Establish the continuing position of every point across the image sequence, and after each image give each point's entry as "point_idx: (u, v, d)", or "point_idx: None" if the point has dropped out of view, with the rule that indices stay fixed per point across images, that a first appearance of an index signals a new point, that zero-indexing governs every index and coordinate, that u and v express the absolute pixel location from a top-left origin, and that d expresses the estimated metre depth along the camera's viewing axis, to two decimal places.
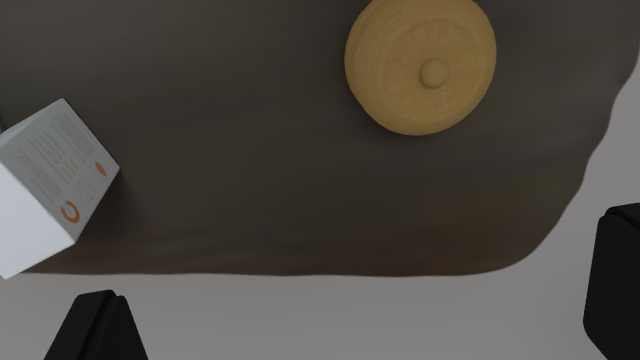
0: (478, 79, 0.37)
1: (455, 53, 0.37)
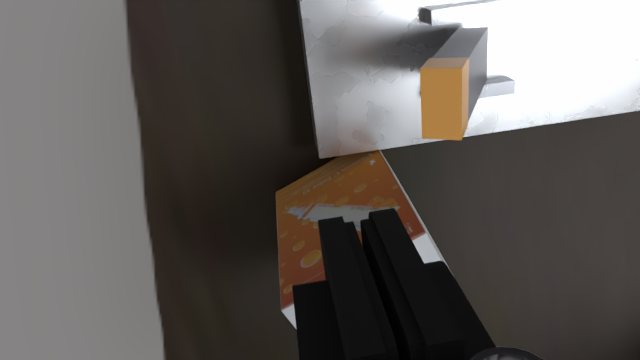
0: None
1: None
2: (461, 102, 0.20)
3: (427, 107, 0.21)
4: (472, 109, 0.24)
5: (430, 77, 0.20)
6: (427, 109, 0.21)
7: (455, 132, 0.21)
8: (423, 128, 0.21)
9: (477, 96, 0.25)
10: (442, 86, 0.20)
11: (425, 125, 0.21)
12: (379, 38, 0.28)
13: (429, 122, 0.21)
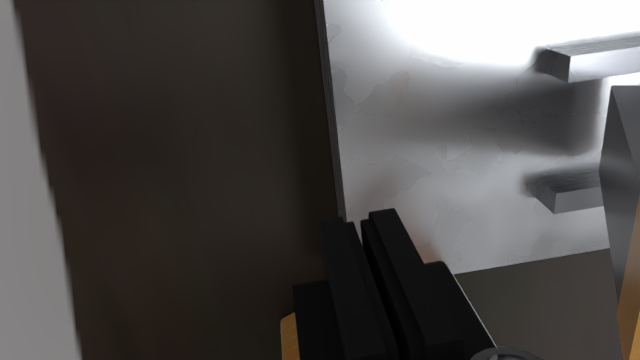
0: None
1: None
2: None
3: None
4: None
5: None
6: None
7: None
8: (634, 359, 0.09)
9: None
10: None
11: None
12: (467, 101, 0.16)
13: None
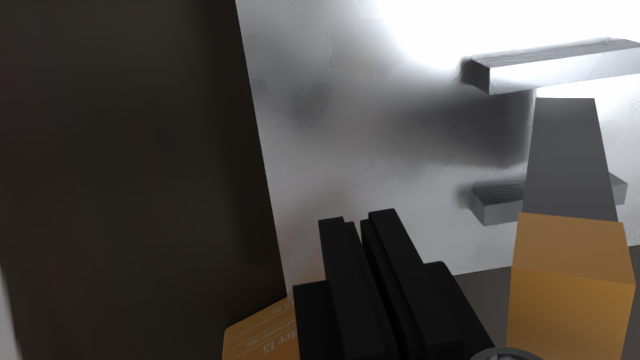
0: None
1: None
2: (618, 355, 0.08)
3: (523, 348, 0.08)
4: None
5: (538, 290, 0.08)
6: None
7: None
8: None
9: None
10: (570, 314, 0.08)
11: None
12: (392, 112, 0.16)
13: None
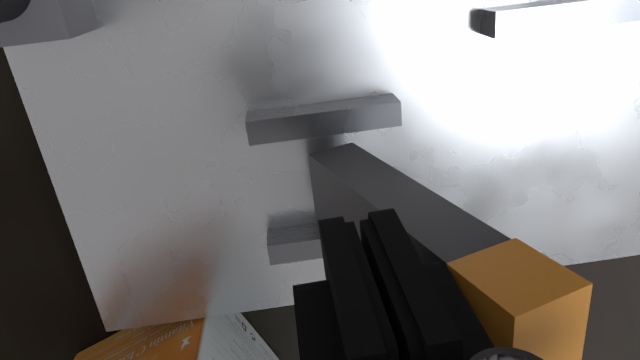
0: None
1: None
2: (580, 346, 0.09)
3: None
4: None
5: (533, 326, 0.08)
6: None
7: None
8: None
9: None
10: (554, 333, 0.08)
11: None
12: (176, 158, 0.17)
13: None
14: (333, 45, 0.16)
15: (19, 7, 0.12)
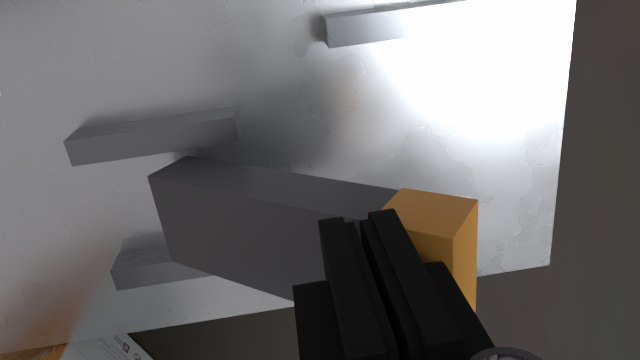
0: None
1: None
2: None
3: None
4: None
5: (459, 243, 0.10)
6: None
7: (472, 306, 0.12)
8: None
9: None
10: (466, 247, 0.10)
11: None
12: (6, 179, 0.16)
13: None
14: (163, 56, 0.15)
15: None
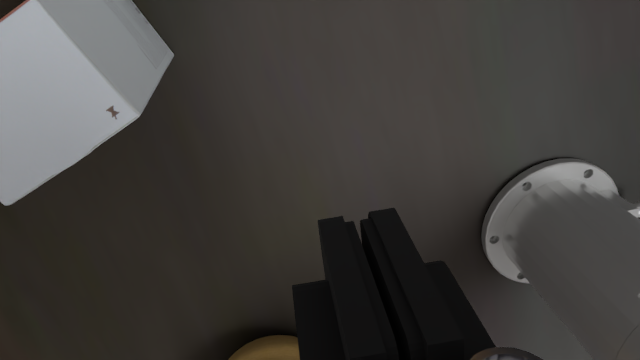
0: None
1: None
2: None
3: None
4: None
5: None
6: None
7: None
8: None
9: None
10: None
11: None
12: None
13: None
14: None
15: None
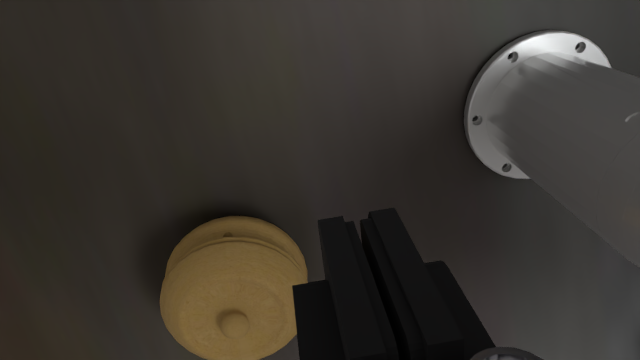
0: (231, 358, 0.38)
1: (254, 333, 0.38)
2: None
3: None
4: None
5: None
6: None
7: None
8: None
9: None
10: None
11: None
12: None
13: None
14: None
15: None
